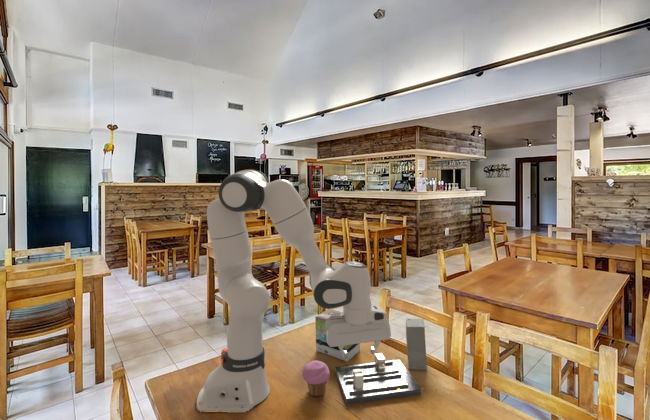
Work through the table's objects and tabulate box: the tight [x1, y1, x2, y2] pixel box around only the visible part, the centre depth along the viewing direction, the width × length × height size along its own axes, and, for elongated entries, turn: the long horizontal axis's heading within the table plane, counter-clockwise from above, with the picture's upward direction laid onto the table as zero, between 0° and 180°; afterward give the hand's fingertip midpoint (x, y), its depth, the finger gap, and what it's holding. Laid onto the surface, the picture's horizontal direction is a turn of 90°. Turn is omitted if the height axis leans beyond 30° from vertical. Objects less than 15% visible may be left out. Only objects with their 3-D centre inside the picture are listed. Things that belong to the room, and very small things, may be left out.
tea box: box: [315, 308, 361, 363], centre depth 135 cm, size 15×10×15 cm, turn 55°
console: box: [334, 352, 422, 406], centre depth 114 cm, size 24×18×7 cm
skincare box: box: [405, 318, 428, 371], centre depth 124 cm, size 8×7×16 cm
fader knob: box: [353, 369, 364, 390], centre depth 108 cm, size 2×4×5 cm, turn 9°
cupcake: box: [302, 359, 331, 397], centre depth 109 cm, size 9×9×10 cm
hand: (359, 355), depth 108 cm, fingers open, 8 cm apart
